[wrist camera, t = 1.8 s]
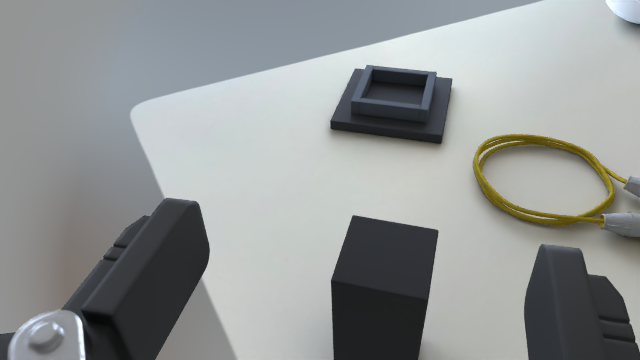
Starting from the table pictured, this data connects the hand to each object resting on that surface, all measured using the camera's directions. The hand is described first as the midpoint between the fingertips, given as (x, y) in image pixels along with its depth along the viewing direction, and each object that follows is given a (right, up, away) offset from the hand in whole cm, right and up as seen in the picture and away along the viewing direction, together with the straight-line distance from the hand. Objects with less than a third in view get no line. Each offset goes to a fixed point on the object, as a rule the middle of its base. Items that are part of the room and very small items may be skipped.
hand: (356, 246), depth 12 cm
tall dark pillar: (+3, -10, +20) cm, 22 cm away
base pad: (+7, +9, +42) cm, 43 cm away
